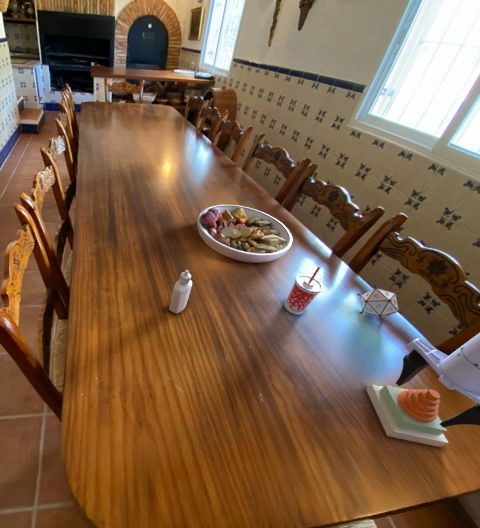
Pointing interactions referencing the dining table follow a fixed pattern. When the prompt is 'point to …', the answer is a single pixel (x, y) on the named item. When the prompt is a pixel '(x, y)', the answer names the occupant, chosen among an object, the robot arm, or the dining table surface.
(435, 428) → the top block
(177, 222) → the dining table surface
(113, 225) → the dining table surface
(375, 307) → the game die
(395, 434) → the base block
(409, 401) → the cone
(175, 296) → the eye dropper bottle
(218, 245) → the bowl
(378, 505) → the dining table surface
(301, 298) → the beverage cup
